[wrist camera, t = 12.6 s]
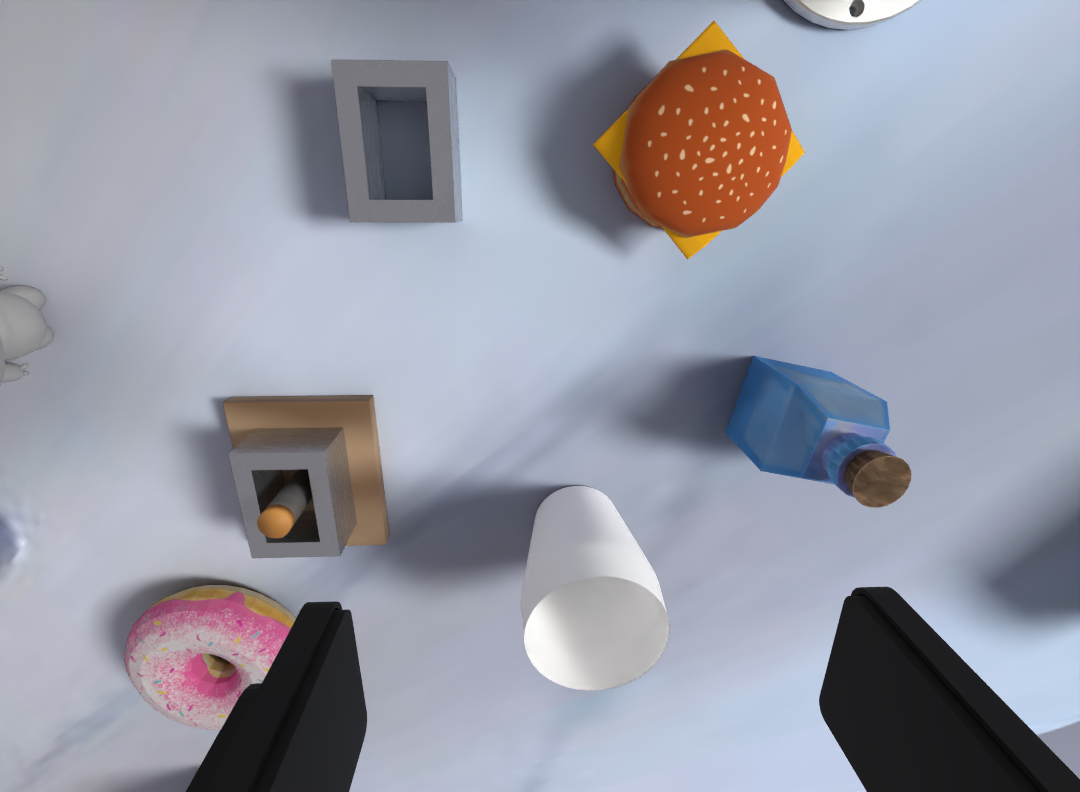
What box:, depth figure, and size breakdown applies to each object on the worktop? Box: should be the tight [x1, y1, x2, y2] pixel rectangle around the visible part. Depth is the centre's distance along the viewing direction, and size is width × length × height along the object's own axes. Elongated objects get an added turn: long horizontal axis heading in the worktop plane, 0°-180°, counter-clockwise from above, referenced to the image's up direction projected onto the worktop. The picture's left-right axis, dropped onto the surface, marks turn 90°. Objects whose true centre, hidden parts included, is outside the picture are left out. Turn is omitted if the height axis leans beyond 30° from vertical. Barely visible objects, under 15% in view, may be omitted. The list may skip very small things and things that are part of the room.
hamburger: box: [593, 21, 805, 259], centre depth 30 cm, size 9×10×7 cm
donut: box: [124, 585, 296, 730], centre depth 42 cm, size 14×13×5 cm
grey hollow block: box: [331, 60, 462, 222], centre depth 30 cm, size 8×6×4 cm
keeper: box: [223, 395, 389, 546], centre depth 36 cm, size 12×10×7 cm
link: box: [228, 427, 357, 558], centre depth 36 cm, size 8×6×4 cm
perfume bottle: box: [726, 356, 911, 508], centre depth 34 cm, size 6×6×12 cm
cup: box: [521, 486, 670, 691], centre depth 36 cm, size 9×9×12 cm
